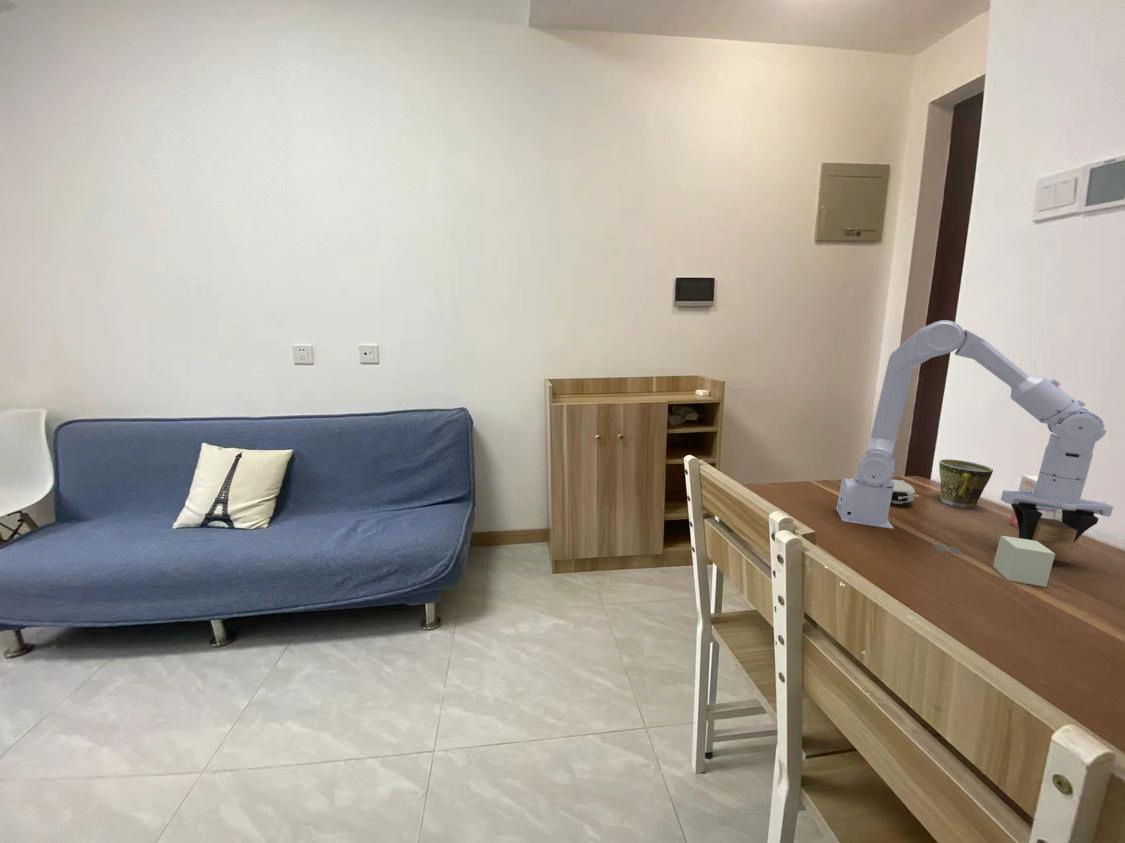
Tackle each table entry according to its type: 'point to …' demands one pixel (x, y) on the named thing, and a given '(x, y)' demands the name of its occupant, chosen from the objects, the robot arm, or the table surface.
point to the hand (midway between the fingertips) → (1043, 544)
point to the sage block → (1023, 561)
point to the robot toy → (902, 492)
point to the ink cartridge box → (1029, 485)
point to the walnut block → (1055, 537)
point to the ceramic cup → (962, 482)
